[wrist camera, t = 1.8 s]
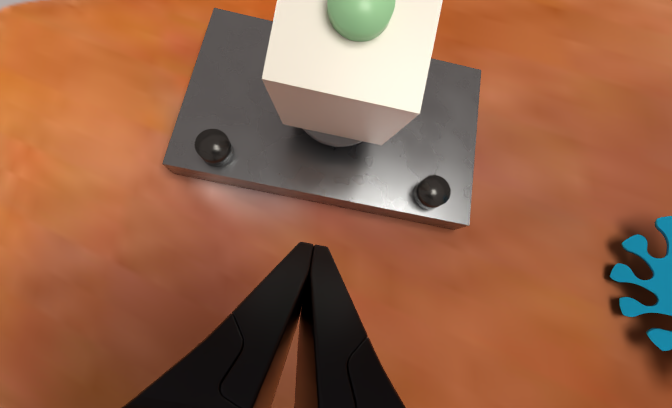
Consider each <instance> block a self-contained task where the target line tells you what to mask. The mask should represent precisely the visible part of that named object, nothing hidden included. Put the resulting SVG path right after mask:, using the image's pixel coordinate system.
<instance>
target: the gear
mask: <svg viewBox="0 0 672 408" xmlns="http://www.w3.org/2000/svg"><path fill="white" fill-rule="evenodd" d="M655 227H656V228H657V230H659V231H660V232H661V233H662V235H663V236H664V238H665V240H666V243H667V253H666V256H665V257H664V258H654V257H652V256H650V255H649V254H648V252H647V240H646V239H645V238H644V237H643V236H642V235H639V234H637V235H634V236H632V237H630V238H628V239H626V240H625V241H624V242H622V247H623V248H624V249H625V250H626V251H628V252H630V253H633V254H635V255H637V256H639V257H640V258H642V259H643V260H644V261H645V262H646V263H647V265H648V266H649V267H650V269H651V271H652V273H653V276H652V278H651V279H649V280H641V279H639V278H637V277H636V276H635V275H634V273H633V272H632V270H631V269H630V268H629V267H628V266H627V265H624V264H621V263H617V264H616V265H615V266H614V268H613V269H612V271H611V274H610V278H611V279H612V280H614V281H617V282H627V283H633V284H636V285H639V286H642V287H643V288H645V289H647V290H649V291H650V292H652V293H653V294H654V295H655V296H656V297H657V302H656V304H654V305H652V306H645V305H643V304H641V303H640V302H638V301H637V300H635V299H633V298H630V297H621V298H619V306H620V309H621V312H622V314H623V315H625V316H628V317H635V316H638V315H640V314H644V313H661V314H666V315H671V316H672V216H668V217H661V218H657V220H656V221H655ZM646 334H647V336H648V337H649V339H650V340H651V341H652V342H653V343H654V344H655V345H656V346H657V347H658V348H660V349H661V350H662V351H668V350H671V349H672V331H669V330H664V329H660V328H651V329H649V330H648V331H647V332H646Z"/></svg>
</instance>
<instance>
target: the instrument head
mask: <svg viewBox="0 0 672 408" xmlns="http://www.w3.org/2000/svg"><path fill="white" fill-rule="evenodd" d="M442 1H443V0H277V4H276V9H275V14H274V19H273V24H272V29H271V34H270V40H269V45H268V50H267V55H266V60H265V65H264V70H263V75H262V80H263V83H264V85H265V87H266V89H267V91H268V93H269V95H270V98H271V100H272V102H273V104H274V106H275V108H276V111H277V113H278V115H279V117H280V119H281V121H282V123H283V124H284V125H288V126H293V127H298V128H302V129H303V130H304V131H305V132H306V133H307V134H308V135H309V136H310V137H312V138H313V139H315V140H316V141H318V142H320V143H322V144H325V145H329V146H334V147H347V146H352V145H355V144H358V143H360V142H362V141H364V142H368V143H373V144H378V145H383V144H384V143H385V142H386V141H388V140H389V139H390V138H391V137H392V136H394V135H395V134H396V133H397V132H398V131H400V130H401V129H402V128H403V127H404V126H406V125H407V124H408V123H409V122H410V121H412V120H413V119H414V118H415V117H417V116H418V115H419V114H420V110H421V105H422V100H423V95H424V90H425V85H426V80H427V75H428V70H429V66H430V61H431V56H432V51H433V46H434V41H435V36H436V31H437V26H438V21H439V16H440V11H441V6H442Z"/></svg>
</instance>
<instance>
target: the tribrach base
mask: <svg viewBox="0 0 672 408" xmlns="http://www.w3.org/2000/svg"><path fill="white" fill-rule="evenodd" d="M272 24H273V21H269V20H264V19H260V18H256V17H251V16H247V15H243V14H239V13H234V12H230V11H226V10H221V9H217V8H214V10H213V13H212V16H211V19H210V22H209V25H208V28H207V31H206V34H205V37H204V40H203V43H202V46H201V49H200V52H199V55H198V58H197V61H196V64H195V67H194V70H193V73H192V76H191V79H190V82H189V85H188V88H187V91H186V94H185V97H184V100H183V103H182V106H181V109H180V112H179V115H178V118H177V121H176V124H175V127H174V130H173V133H172V136H171V139H170V142H169V145H168V148H167V151H166V154H165V157H164V160H163V163H162V164H163V165H164V166H166V167H167V168H168V169H170V170H171V171H172V172H173V173H175V174H178V175H183V176H188V177H193V178H198V179H203V180H208V181H213V182H218V183H223V184H228V185H233V186H238V187H243V188H248V189H253V190H258V191H263V192H268V193H273V194H278V195H283V196H289V197H294V198H299V199H304V200H309V201H314V202H319V203H324V204H329V205H334V206H339V207H344V208H349V209H354V210H359V211H364V212H369V213H374V214H379V215H384V216H389V217H394V218H399V219H404V220H409V221H414V222H419V223H424V224H429V225H434V226H439V227H444V228H449V229H454V230H455V229H459V228H462V227H465V226H469V222H470V209H471V196H472V183H473V170H474V157H475V144H476V131H477V118H478V105H479V92H480V79H481V70H479V69H474V68H470V67H466V66H462V65H457V64H453V63H449V62H444V61H440V60H436V59H432V58H431V61H430V66H429V70H428V75H427V80H426V85H425V90H424V95H423V100H422V105H421V110H420V114H419V115H418V116H417V117H415V118H414V119H413V120H412V121H410V122H409V123H408V124H407V125H406V126H404V127H403V128H402V129H401V130H400V131H398V132H397V133H396V134H395V135H394V136H392V137H391V138H390V139H389V140H388V141H386V142H385V143H384V144H383V145H378V144H373V143H368V142H364V141H362V142H360V143H358V144H355V145H352V146H347V147H334V146H329V145H325V144H322V143H320V142H318V141H316V140H315V139H313V138H312V137H310V136H309V135H308V134H307V133H306V132H305V131H304V130H303V129H302V128H298V127H293V126H288V125H284V124H283V123H282V121H281V119H280V117H279V115H278V113H277V111H276V108H275V106H274V104H273V102H272V100H271V98H270V95H269V93H268V91H267V89H266V87H265V85H264V83H263V80H262V75H263V70H264V65H265V60H266V55H267V50H268V45H269V40H270V34H271V29H272Z"/></svg>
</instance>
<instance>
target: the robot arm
mask: <svg viewBox="0 0 672 408" xmlns="http://www.w3.org/2000/svg"><path fill="white" fill-rule="evenodd" d="M301 307H302V308H301ZM300 312H301V314H300ZM299 317H300V323H299V338H298V354H297V371H296V388H295V404H294V408H406V407H405V406H404V404H403V402H402V401H401V399H400V397H399V395H398V394H397V392H396V390H395V389H394V387H393V385H392V383H391V382H390V380H389V378H388V376H387V374H386V373H385V371H384V369H383V367H382V365H381V363H380V361H379V359H378V357H377V355H376V353H375V351H374V348H373V346H372V344H371V342H370V339H369V338H368V337H367V333H366V331H365V329H364V326H363V324H362V322H361V320H360V318H359V315H358V313H357V311H356V309H355V306H354V304H353V302H352V300H351V298H350V295H349V293H348V291H347V289H346V286H345V284H344V282H343V280H342V278H341V275H340V273H339V271H338V269H337V267H336V264H335V262H334V260H333V258H332V255H331V253H330V251H329V249H328V247H326V246H320V245H314V247H313V244H310V243H305V242H300V243H299V244H298V245H297V246H296V247H295V248H294V249H293V250H292V251H291V252H290V253H289V254H288V255H287V256H286V257H285V258H284V259H283V260H282V261H281V262H280V263H279V264H278V265H277V266H276V267H275V268H274V269H273V270H272V271H271V272H270V273H269V275H268V276H267V277H266V278H265V279H264V280H263V281H262V282H261V283H260V284H259V285H258V286H257V287H256V288H255V289H254V290H253V291H252V292H251V293H250V294H249V295H248V296H247V297H246V298H245V299H244V300H243V301H242V302H241V303H240V304H239V306H238V307H237V308H236V309H235V310H234V311H233V312H232V314H230V315H229V316H228V317H227V318H226V319H225V320H224V321H223V322H222V323H221V324H220V325H219V326H218V327H217V328H216V329H215V330H214V331H213V332H212V333H211V334H210V335H209V336H208V337H207V338H206V339H204V340H203V341H202V342H201V343H200V344H199V345H197V346H196V347H195V348H194V349H193V350H192V351H191V352H189V353H188V354H187V355H186V356H185V357H183V358H182V359H181V360H180V361H179V362H177V363H176V364H175V365H174V366H173V367H171V368H170V369H169V370H168V371H166V372H165V373H164V374H163V375H162V376H160V377H159V378H158V379H157V380H156V381H154V382H153V383H152V384H151V385H149V386H148V387H147V388H146V389H145V390H143V391H142V392H141V393H140V394H139V395H137V396H136V397H135V398H134V399H132V400H131V401H130V402H129V403H127V404H126V405H124V406H123V407H122V408H271V404H272V401H273V398H274V395H275V392H276V389H277V386H278V383H279V380H280V377H281V373H282V370H283V367H284V364H285V361H286V358H287V355H288V352H289V349H290V346H291V342H292V339H293V336H294V333H295V330H296V327H297V324H298V320H299Z"/></svg>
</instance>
